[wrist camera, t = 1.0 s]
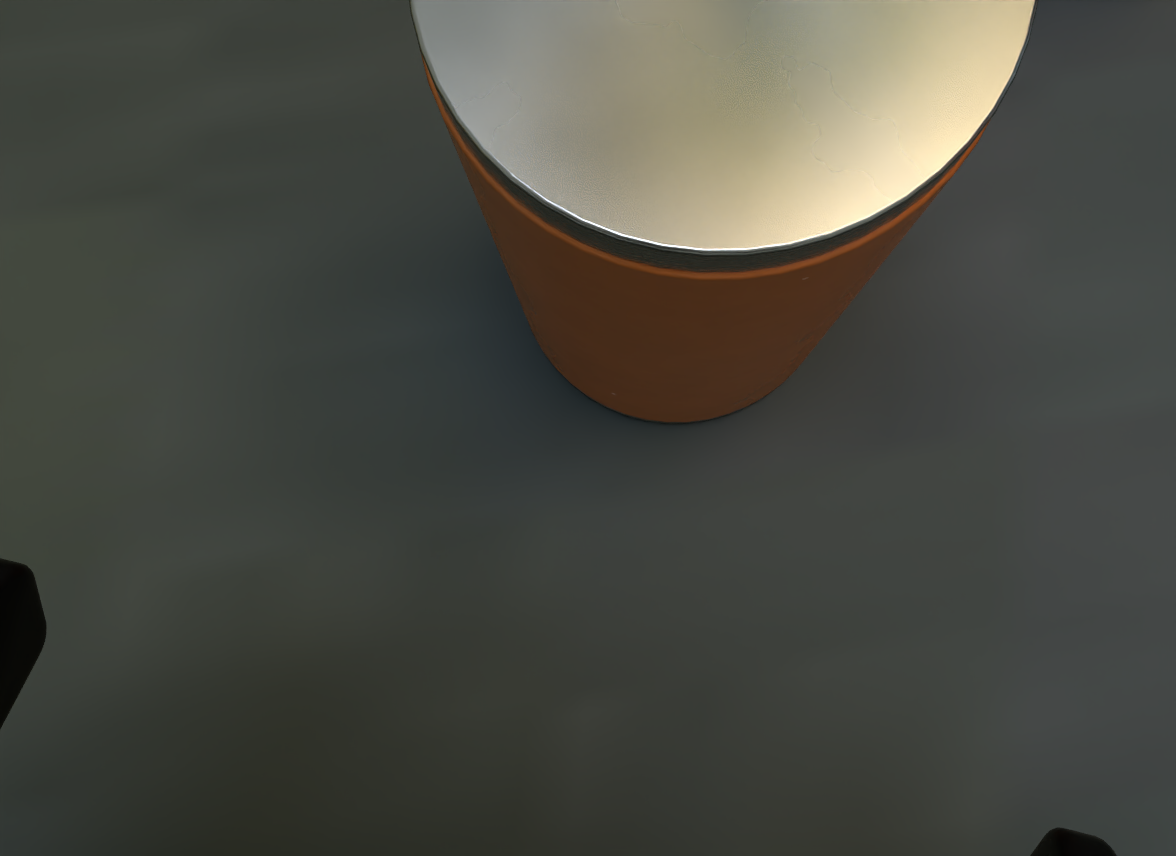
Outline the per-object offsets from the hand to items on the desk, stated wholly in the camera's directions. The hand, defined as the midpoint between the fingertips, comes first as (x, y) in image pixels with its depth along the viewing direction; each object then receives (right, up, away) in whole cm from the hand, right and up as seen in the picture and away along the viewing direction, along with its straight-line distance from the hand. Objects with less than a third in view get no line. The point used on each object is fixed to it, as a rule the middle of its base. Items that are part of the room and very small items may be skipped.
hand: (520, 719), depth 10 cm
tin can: (+2, +6, +14) cm, 16 cm away
